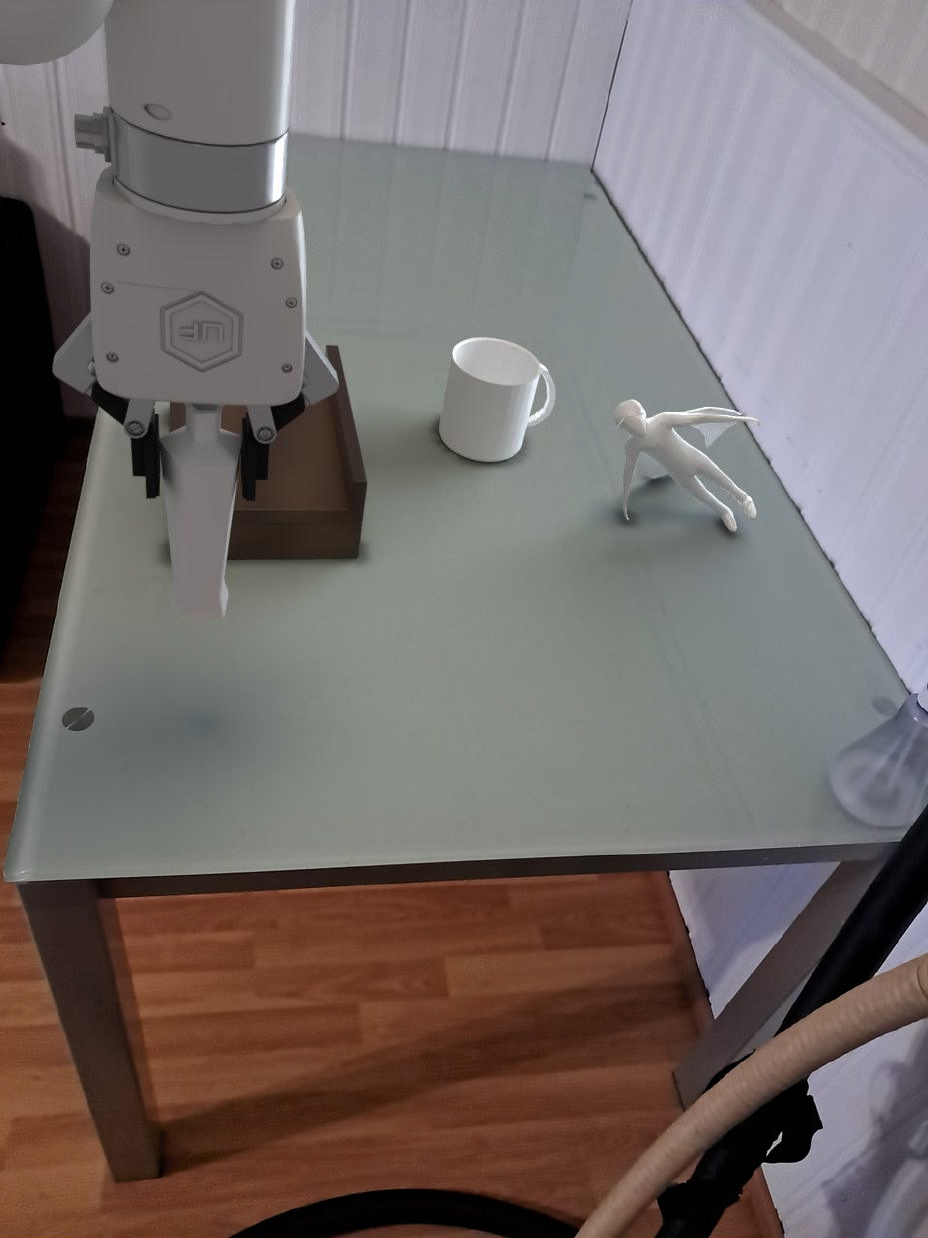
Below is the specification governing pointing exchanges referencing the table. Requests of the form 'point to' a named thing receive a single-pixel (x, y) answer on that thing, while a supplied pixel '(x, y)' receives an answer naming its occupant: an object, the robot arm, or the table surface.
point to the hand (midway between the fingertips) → (201, 482)
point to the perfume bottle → (199, 510)
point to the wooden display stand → (301, 483)
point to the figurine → (679, 452)
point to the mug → (491, 398)
